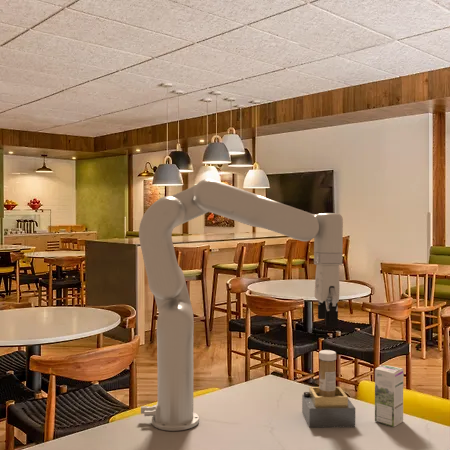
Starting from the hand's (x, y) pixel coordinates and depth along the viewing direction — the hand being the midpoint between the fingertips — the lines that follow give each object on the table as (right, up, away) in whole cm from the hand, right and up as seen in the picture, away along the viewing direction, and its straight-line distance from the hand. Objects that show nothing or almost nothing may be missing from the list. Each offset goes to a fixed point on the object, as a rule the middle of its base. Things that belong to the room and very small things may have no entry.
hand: (327, 322), depth 148 cm
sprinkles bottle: (0, -22, 0) cm, 22 cm away
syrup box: (+16, -27, -1) cm, 31 cm away
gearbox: (0, -26, 0) cm, 26 cm away
